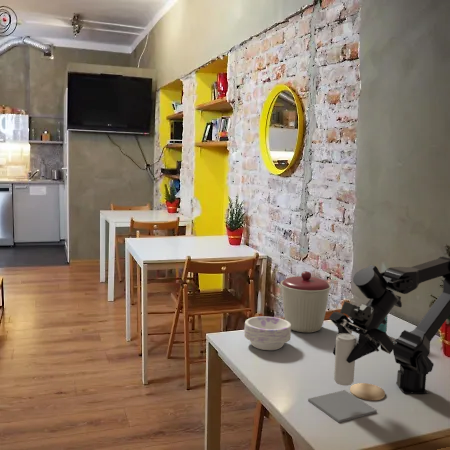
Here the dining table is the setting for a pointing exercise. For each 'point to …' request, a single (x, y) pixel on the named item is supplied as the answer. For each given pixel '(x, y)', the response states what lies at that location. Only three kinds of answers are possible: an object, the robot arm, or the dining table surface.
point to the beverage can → (344, 359)
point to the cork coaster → (367, 391)
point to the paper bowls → (267, 332)
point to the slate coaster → (342, 406)
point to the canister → (305, 302)
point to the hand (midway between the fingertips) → (340, 358)
